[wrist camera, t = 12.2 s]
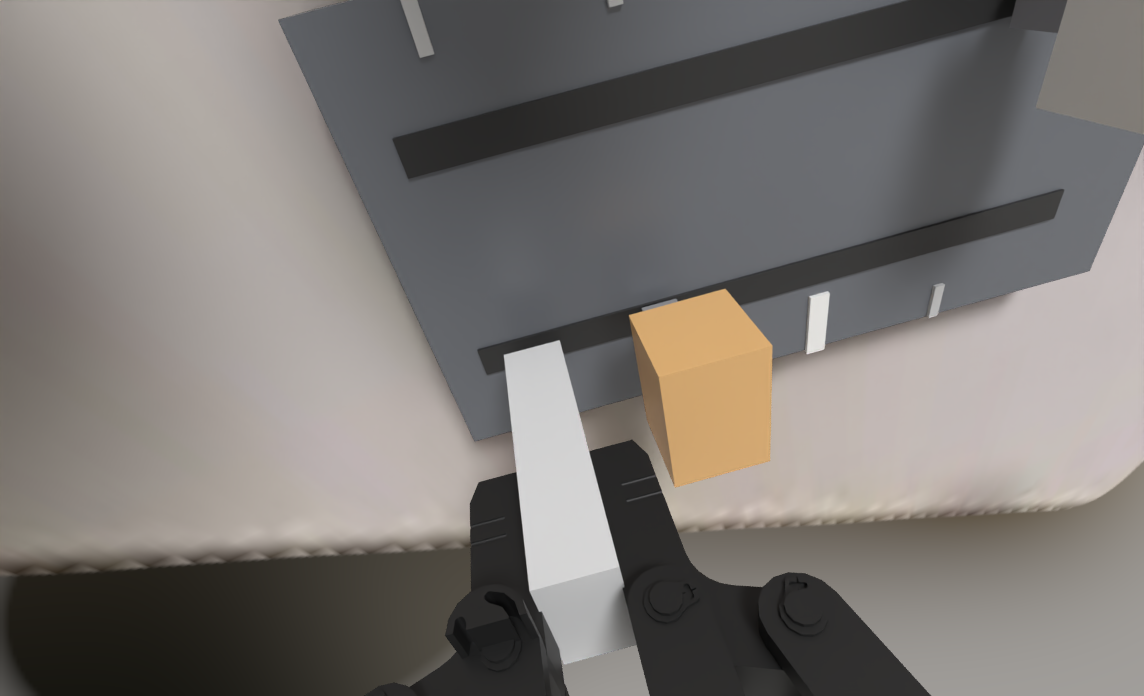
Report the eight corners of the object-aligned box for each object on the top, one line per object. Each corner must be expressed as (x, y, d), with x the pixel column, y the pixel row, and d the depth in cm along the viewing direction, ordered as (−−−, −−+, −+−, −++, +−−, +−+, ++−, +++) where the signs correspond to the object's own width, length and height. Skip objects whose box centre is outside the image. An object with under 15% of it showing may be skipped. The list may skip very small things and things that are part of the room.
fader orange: (629, 378, 16) (675, 487, 13) (610, 277, 14) (658, 377, 11) (704, 357, 16) (769, 461, 13) (696, 254, 14) (772, 346, 11)
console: (474, 403, 19) (475, 446, 17) (300, 7, 12) (273, 14, 10) (1036, 247, 19) (1091, 275, 18) (1203, -232, 12) (1326, -265, 10)
